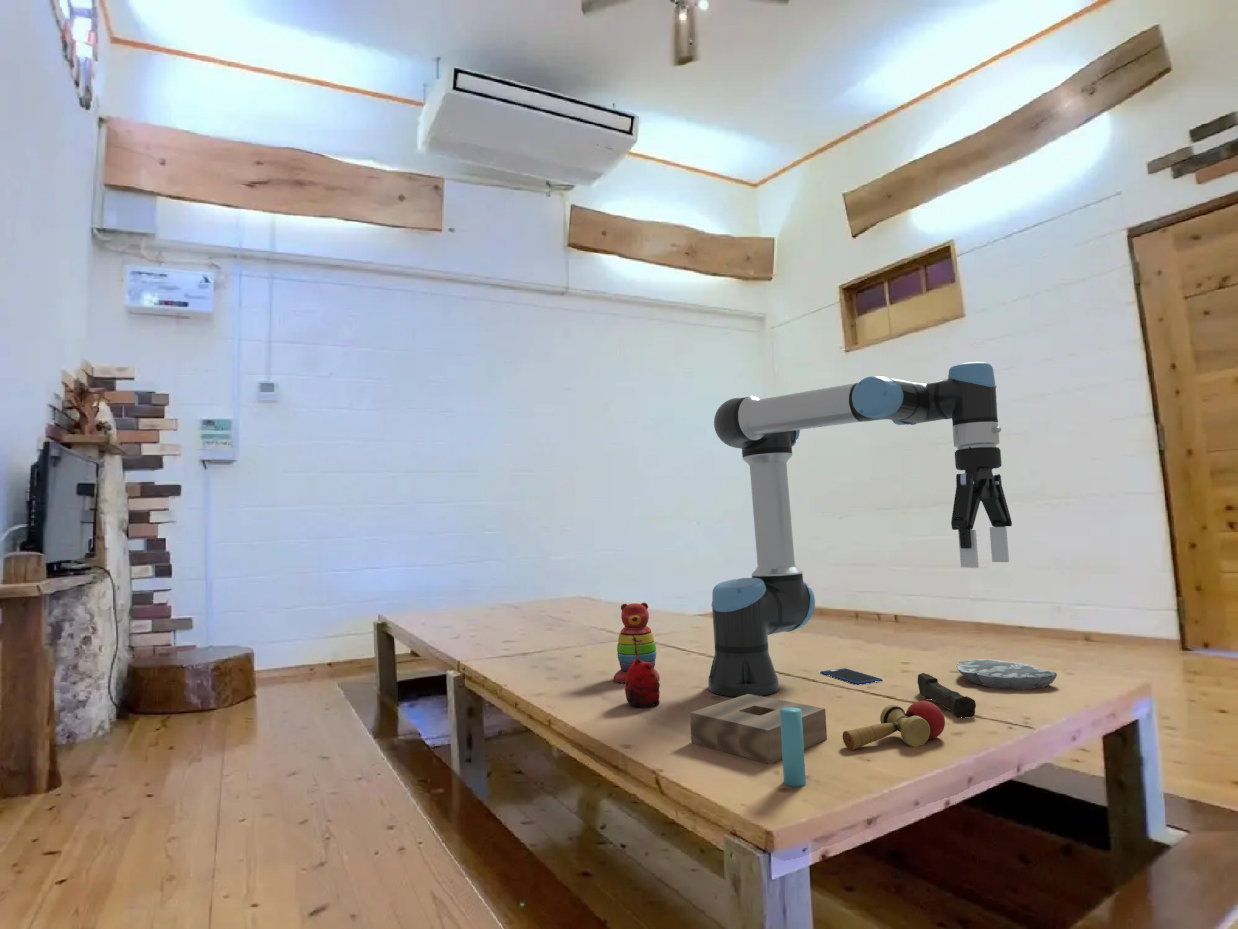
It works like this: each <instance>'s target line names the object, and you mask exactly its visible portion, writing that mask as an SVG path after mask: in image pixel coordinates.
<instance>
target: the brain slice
mask: <svg viewBox="0 0 1238 929" xmlns="http://www.w3.org/2000/svg"><path fill="white" fill-rule="evenodd" d="M955 667H956V670H957V671H958V672H959V674H961V676H964V677H965V678H966V679H967V680H969V681H970V683H973V684H977V685H984V686H985V687H988V688H996V689H1012V690H1031V689H1030V688H1033V689H1035V688H1034V687H1044V688H1046V687H1049V685H1051V684H1053V682H1054V681H1055V680H1056V678H1057V676H1058V674H1057V672H1055V671H1051V670H1046V669H1042V668H1039V667H1037V666H1034V665H1032V664H1026V663H1022V662H1018V661H1017V662H1014V661H1004V660H998V659H989V658H979V659H977V658H976V659H970V660H964V661H963V660H962V661H959V662H958V663H957V665H956V666H955Z"/></svg>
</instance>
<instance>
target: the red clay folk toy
mask: <svg viewBox="0 0 1238 929" xmlns="http://www.w3.org/2000/svg"><path fill="white" fill-rule="evenodd" d="M632 636H633V637H634V638H633V639H632V640H633V641H634V646H635V649H634V652H635V654H636V660H633V661H632V664H631V666H630V668H629V669H628V671H627V676H626V678H625V683H624V692H625V698H626V701H627V704H628V705H629V706H631V707H635V708H641V707H642V708H650V707H654V706H658V705H659V704H660V686H661V685H660V683H659V682H660V681H658V678H657V674H656V672H655V671H654V669H655V668H654V669H653V665H652V664H651V663H650V662H643V661H641V660H640V659H639V657H638V654H637V651H638V649H637V647H636V642H638V643H639V644H641V645H642V642H641V641H642V640H639V641H638V640H636V637H635V636H634V635H633V633H632Z"/></svg>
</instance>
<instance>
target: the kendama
mask: <svg viewBox="0 0 1238 929" xmlns="http://www.w3.org/2000/svg"><path fill="white" fill-rule="evenodd" d="M879 720H880V723H879V724H873V725H869V726H868V725H867V726H864V727H859V728H855V729H848V730H845V731H843V732H842V741H843V744H844V745H845V748H847V749H848V750H850V751H855V750H856V749H859V748H861V747H863V746H866V745H868V744H872V743H874V742H877V741H879V740H881V739H883V738H884V739H885V738H886V737H888V736H890V735H892V734H894V733H895V732H899V733H900V735H901V739H902V741H903V742H904V743H905V744H906V745H908V746H910V747H913V748H915V746H917V747H920V746H919V745H922V746H923V745H925V743H926V742H928V740H932V739H936V738H938V737H939V736H941V734H942V733H943V731H944V730H945V725H946V720H945V715H944V713H943V712H942V710H941V709H940V708H939V707H938V706H937V705H936V704H934V703H933V702H931V701H929V700H927V701H926V700H919V701H915V702H913V703H912V704H910V706H908V708H907V710H906V711H905V710H904V709H903V708H902V707H901V706H899V705H897V704H889V705H887V706H885V707H884V708H883V710H882V711H881V713H880V717H879Z"/></svg>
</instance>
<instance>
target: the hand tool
mask: <svg viewBox="0 0 1238 929" xmlns="http://www.w3.org/2000/svg"><path fill="white" fill-rule="evenodd" d="M917 685H918V691H919V694H920V695H921V697H923V698H924V699H925V700H926V699H932V700H931V701H933V702H935V703H938V704H939V705H941V706H942V707H944V708H946V709H947V710H948V711H950V712H952V713H953V715H954V716H955V717H956V718H957V719H966V718H965V717H970V718H973V717H974V716H975V714H976V707H977V705H976V701H975V699H973V697H969V696H967V695H966V696H964V695H962V694H960V693H959V692H958V691H955V690H951V689H950V688H949V687H946V686H944V685H943V684H941V683H939V680H938V678H936V677H935V676H933V675H930V674H928V673H925V672H922V673H919V674H917ZM961 717H962V718H961Z"/></svg>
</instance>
